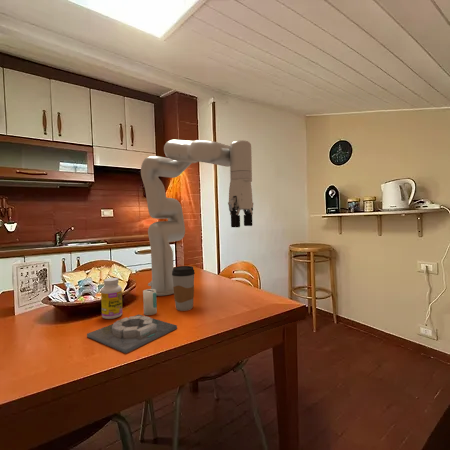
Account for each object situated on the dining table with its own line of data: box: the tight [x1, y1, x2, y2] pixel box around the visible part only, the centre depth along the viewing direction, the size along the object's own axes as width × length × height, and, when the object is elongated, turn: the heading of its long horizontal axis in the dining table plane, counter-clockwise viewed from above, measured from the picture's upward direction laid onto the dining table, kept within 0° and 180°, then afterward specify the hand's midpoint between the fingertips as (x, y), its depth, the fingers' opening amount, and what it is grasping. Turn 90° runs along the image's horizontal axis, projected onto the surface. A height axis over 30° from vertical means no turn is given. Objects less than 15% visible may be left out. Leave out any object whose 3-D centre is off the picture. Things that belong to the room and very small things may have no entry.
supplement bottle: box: [100, 277, 123, 320], centre depth 97 cm, size 7×7×13 cm
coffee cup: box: [172, 265, 195, 312], centre depth 103 cm, size 8×8×15 cm
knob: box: [142, 288, 158, 316], centre depth 99 cm, size 5×4×8 cm
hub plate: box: [86, 314, 178, 354], centre depth 83 cm, size 18×18×3 cm
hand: (242, 226), depth 99 cm, fingers open, 9 cm apart
